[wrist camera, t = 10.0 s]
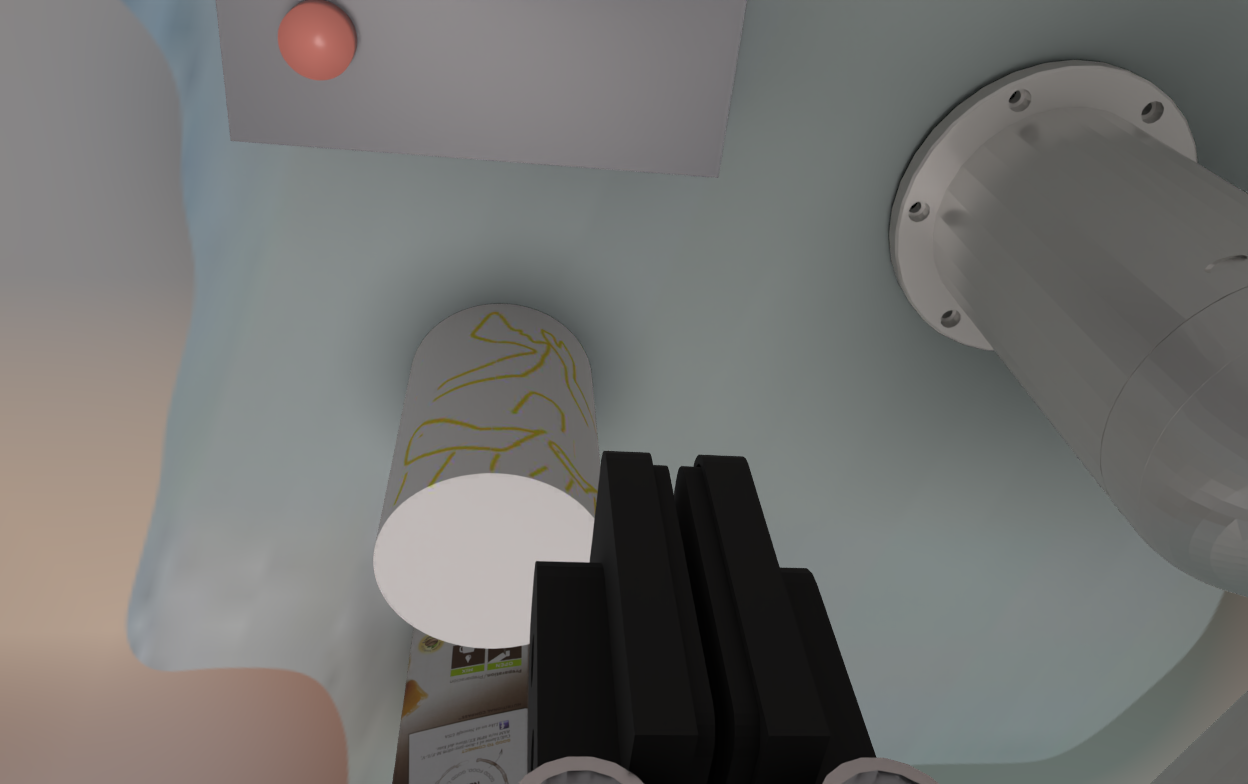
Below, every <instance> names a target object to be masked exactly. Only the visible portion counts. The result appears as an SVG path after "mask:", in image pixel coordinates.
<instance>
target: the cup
mask: <svg viewBox="0 0 1248 784" xmlns="http://www.w3.org/2000/svg"><path fill="white" fill-rule="evenodd" d="M599 475H600V457H599V447H598V436H597V425H596V414H595V404H594V393H593V382H592V372H591V367H590V363H589V360H588V357H587V355H586V353H585V351H584V349H583V347H582V346H581V344H580V342H579V341H578V340H577V338H576V337H575V336H574V335H573V334H572V333H571V332H570V331H569V330H568V329H567V328H566V327H565V326H564V325H562V324H561V323H560V322H558V321H557V320H555V319H554V318H552V317H550V316H548V315H546V314H544V313H542V312H540V311H537V310H535V309H531V308H528V307H524V306H519V305H513V304H486V305H480V306H475V307H471V308H468V309H465V310H462V311H460V312H457V313H455V314H453V315H451V316H449V317H448V318H446V319H444V320H443V321H442V322H440V323H439V324H438V325H436V326H435V327H434V328H433V329H432V330H431V331H430V332H429V333H428V334H427V336H426V337H425V338H424V339H423V341H422V342H421V344H420V346H419V347H418V349H417V351H416V353H415V356H414V359H413V362H412V366H411V371H410V376H409V381H408V386H407V391H406V396H405V401H404V406H403V411H402V416H401V421H400V426H399V430H398V435H397V440H396V445H395V450H394V455H393V460H392V465H391V470H390V475H389V480H388V485H387V490H386V495H385V499H384V504H383V509H382V514H381V519H380V524H379V529H378V534H377V539H376V544H375V549H374V560H373V563H374V572H375V577H376V580H377V584H378V586H379V589H380V591H381V593H382V594H383V596H384V598H385V599H386V601H387V602H388V604H389V605H390V606H391V607H392V609H393V610H394V611H395V612H396V613H397V614H398V615H399V616H400V617H401V618H403V619H404V620H405V621H406V622H408V623H409V624H410V625H412V626H413V627H415V628H416V629H418V630H420V631H421V632H423V633H425V634H427V635H429V636H432V637H434V638H436V639H439V640H442V641H445V642H448V643H452V644H456V645H460V646H466V647H473V648H486V649H497V648H510V647H517V646H522V645H527V644H529V643H530V622H531V606H532V593H533V580H534V569H535V562H536V561H554V562H590V554H591V545H592V536H593V528H594V519H595V510H596V502H597V493H598V484H599Z"/></svg>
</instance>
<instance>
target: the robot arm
mask: <svg viewBox="0 0 1248 784" xmlns="http://www.w3.org/2000/svg"><path fill="white" fill-rule="evenodd" d="M1014 92H1016V95H1015V97H1014V98H1013V99H1011V100H1009V99H1010V97H1011V95H1012V94H1013V93H1014ZM1144 107H1145V108H1144ZM916 202H918V203H917V205H916V207H914V208H912V209H910V208H911V206H912V205H914V204H915V203H916ZM889 243H890V254H891V262H892V265H893V268H894V271H895V274H896V278H897V281H898V284H899V285H900V287H901V289H902V290H903V292H904V294H905V295H906V297H907V299H908V300H909V302H910V303H911V305H912V306H913V307H914V308H915V310H916V311H917V312H918V313H919V315H920V316H921V317H922V319H923V320H924V321H925V322H927V323H928V324H929V325H930V326H931V327H932V328H934V329H935V330H936V331H937V332H939V333H940V334H942V335H944V336H946V337H948V338H950V339H952V340H954V341H956V342H959V343H961V344H963V345H967V346H971V347H975V348H979V349H983V350H989V351H995V352H996V353H997V354H998V356H999V357H1000V358H1001V359H1002V361H1003V362H1004V363H1005V365H1006V366H1007V367H1008V368H1009V370H1010V371H1011V372H1012V374H1013V375H1014V376H1015V377H1016V379H1017V380H1018V381H1019V383H1020V384H1021V385H1022V386H1023V388H1024V389H1025V390H1026V392H1027V393H1028V394H1029V395H1030V397H1031V398H1032V399H1033V401H1034V402H1035V403H1036V404H1037V406H1038V407H1039V408H1040V410H1041V411H1042V412H1043V413H1044V415H1045V416H1046V417H1047V419H1048V420H1049V421H1050V422H1051V424H1052V425H1053V426H1054V428H1055V429H1056V430H1057V431H1058V433H1059V434H1060V435H1061V437H1062V438H1063V439H1064V440H1065V442H1066V443H1067V444H1068V446H1069V447H1070V448H1071V449H1072V451H1073V452H1074V453H1075V454H1076V456H1077V457H1078V458H1079V460H1080V461H1081V462H1082V463H1083V465H1084V466H1085V467H1086V469H1087V470H1088V471H1089V472H1090V474H1091V475H1092V476H1093V478H1094V479H1095V480H1096V481H1097V483H1098V484H1099V485H1100V487H1101V488H1102V489H1103V490H1104V492H1105V493H1106V494H1107V496H1108V497H1109V498H1110V499H1111V501H1112V502H1113V503H1114V505H1115V506H1116V507H1117V508H1118V510H1119V511H1120V512H1121V513H1122V514H1123V516H1124V517H1125V518H1126V520H1127V521H1128V522H1129V523H1130V525H1131V526H1132V527H1133V528H1134V530H1135V531H1136V532H1137V533H1138V534H1139V536H1140V537H1141V538H1142V539H1143V540H1144V541H1145V542H1146V543H1147V544H1148V545H1149V546H1150V547H1151V548H1152V549H1153V550H1154V551H1155V552H1156V553H1158V554H1159V555H1160V556H1161V557H1163V558H1164V559H1165V560H1166V561H1168V562H1169V563H1170V564H1172V565H1173V566H1175V567H1176V568H1178V569H1179V570H1181V571H1183V572H1185V573H1186V574H1188V575H1190V576H1192V577H1194V578H1195V579H1197V580H1199V581H1202V582H1204V583H1206V584H1208V585H1211V586H1214V587H1216V588H1219V589H1222V590H1226V591H1229V592H1232V593H1236V594H1239V595H1242V596H1246V597H1248V194H1247V193H1245V192H1244V191H1242V190H1240V189H1239V188H1237V187H1236V186H1234V185H1232V184H1231V183H1229V182H1227V181H1226V180H1224V179H1222V178H1221V177H1219V176H1217V175H1216V174H1214V173H1213V172H1211V171H1209V170H1208V169H1206V168H1204V167H1203V166H1201V165H1199V164H1198V160H1197V152H1196V144H1195V141H1194V138H1193V136H1192V133H1191V130H1190V128H1189V125H1188V122H1187V120H1186V118H1185V117H1184V116H1183V114H1182V113H1181V111H1180V110H1179V108H1178V107H1177V106H1176V104H1175V103H1174V101H1173V100H1172V99H1171V98H1170V97H1169V96H1167V95H1166V94H1165V93H1164V92H1163V91H1161V90H1160V89H1159V88H1158V87H1157V86H1155V85H1154V84H1153V83H1152V82H1150V81H1148V80H1146V79H1144V78H1142V77H1140V76H1138V75H1137V74H1135V73H1133V72H1131V71H1129V70H1125V69H1122V68H1119V67H1116V66H1113V65H1110V64H1107V63H1104V62H1094V61H1083V60H1068V61H1059V62H1050V63H1043V64H1040V65H1036V66H1033V67H1030V68H1026V69H1023V70H1020V71H1016V72H1013V73H1011V74H1009V75H1007V76H1005V77H1003V78H1001V79H999V80H997V81H995V82H993V83H991V84H989V85H987V86H985V87H983V88H982V89H981V90H979V91H978V92H976V93H975V94H973V95H972V96H971V97H969V98H968V99H966V100H965V101H964V102H962V103H961V104H959V105H958V106H957V107H956V108H955V109H954V110H953V111H952V112H951V113H950V114H949V115H947V116H946V117H945V118H944V119H943V120H942V121H941V122H940V123H939V124H938V125H937V126H936V127H935V128H934V129H933V131H932V132H931V133H930V135H929V136H928V137H927V139H926V140H925V141H924V143H923V144H922V145H921V147H920V148H919V149H918V151H917V152H916V153H915V155H914V157H913V159H912V160H911V162H910V164H909V166H908V168H907V170H906V172H905V174H904V176H903V178H902V180H901V182H900V185H899V188H898V191H897V195H896V198H895V201H894V204H893V207H892V213H891V222H890V230H889ZM518 784H939V783H937V782H936V781H935V780H934V779H933V778H932V777H930V776H929V775H927V774H925V773H923V772H921V771H919V770H918V769H915V768H914V767H912V766H910V765H908V764H905V763H901V762H898V761H894V760H890V759H887V758H876V755H875V752H874V749H873V746H872V743H871V740H870V737H869V735H868V732H867V729H866V726H865V723H864V720H863V717H862V714H861V711H860V708H859V705H858V702H857V700H856V697H855V694H854V691H853V688H852V685H851V682H850V679H849V676H848V673H847V670H846V667H845V665H844V662H843V659H842V656H841V653H840V650H839V647H838V644H837V641H836V638H835V635H834V632H833V630H832V627H831V624H830V621H829V618H828V615H827V612H826V609H825V606H824V603H823V600H822V597H821V595H820V592H819V589H818V586H817V583H816V581H815V579H814V577H813V574H812V573H811V572H810V571H809V570H808V569H807V568H780V567H779V564H778V561H777V557H776V554H775V551H774V548H773V544H772V541H771V538H770V534H769V531H768V528H767V524H766V521H765V518H764V515H763V511H762V508H761V505H760V501H759V498H758V495H757V492H756V488H755V485H754V482H753V478H752V475H751V472H750V469H749V465H748V462H747V460H746V458H744V457H740V456H716V455H698V456H697V458H696V460H695V463H694V467H687V466H681V467H680V468H679V470H678V474H677V479H676V485H675V491H674V495H673V489H672V484H671V479H670V473H669V469H668V467H667V466H662V465H653V462H652V458H651V454H650V453H643V452H618V451H604V452H603V455H602V460H601V467H600V475H599V484H598V493H597V502H596V510H595V519H594V528H593V536H592V545H591V554H590V562H554V561H536V562H535V569H534V580H533V593H532V606H531V622H530V643H529V680H528V774H527V775H525V776H524V777H523V779H522V780H521V781H520V782H519V783H518ZM1151 784H1248V691H1247V692H1246V693H1245V694H1244V695H1242V696H1241V697H1240V698H1239V699H1238V700H1237V701H1236V702H1235V703H1234V704H1233V705H1232V706H1231V707H1230V708H1229V709H1228V710H1227V711H1226V712H1225V713H1224V714H1222V715H1221V716H1220V717H1219V718H1218V719H1217V720H1216V721H1215V722H1214V723H1213V724H1212V725H1211V726H1210V727H1209V728H1208V729H1207V730H1206V731H1205V732H1204V733H1203V734H1201V736H1199V737H1198V738H1197V739H1196V740H1195V741H1194V742H1193V743H1192V744H1191V745H1190V746H1189V747H1188V748H1187V749H1186V750H1185V751H1184V752H1183V753H1182V754H1180V755H1179V757H1177V758H1176V759H1175V760H1174V761H1173V762H1172V763H1171V764H1170V765H1169V766H1168V767H1167V768H1166V769H1165V770H1164V771H1163V772H1162V773H1161V774H1160V775H1159V776H1158V777H1157V778H1156V779H1155V780H1154V781H1153V782H1152V783H1151Z"/></svg>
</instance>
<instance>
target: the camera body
mask: <svg viewBox="0 0 1248 784" xmlns="http://www.w3.org/2000/svg"><path fill="white" fill-rule="evenodd" d="M746 5H747V0H216V8H217V17H218V26H219V36H220V45H221V54H222V64H223V73H224V82H225V91H226V101H227V110H228V119H229V129H230V138H231V141H239V142H252V143H266V144H279V145H292V146H305V147H319V148H332V149H345V150H358V151H371V152H385V153H398V154H411V155H424V156H438V157H451V158H464V159H477V160H491V161H504V162H517V163H530V164H543V165H557V166H570V167H583V168H596V169H610V170H623V171H636V172H649V173H663V174H676V175H689V176H702V177H715V178H718V177H719V171H720V165H721V158H722V152H723V146H724V140H725V134H726V128H727V121H728V115H729V109H730V103H731V97H732V91H733V85H734V78H735V72H736V66H737V60H738V54H739V48H740V41H741V35H742V29H743V23H744V17H745V11H746Z"/></svg>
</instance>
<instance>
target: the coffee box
mask: <svg viewBox="0 0 1248 784" xmlns="http://www.w3.org/2000/svg"><path fill="white" fill-rule="evenodd" d="M528 680H529V644H527V645H522V646H517V647H510V648H497V649H486V648H473V647H466V646H460V645H456V644H452V643H448V642H445V641H442V640H439V639H436V638H434V637H432V636H429V635H427V634H425V633H423V632H421V631H420V630H418V629H416V628H415V627H414V630H413V637H412V643H411V650H410V657H409V666H408V672H407V680H406V689H405V696H404V703H403V710H402V716H401V723H400V731H399V738H398V745H397V753H396V761H395V768H394V774H393V782H392V784H518V783H519V782H520V781H521V780H522V779H523V777H524V776H525V775H527V774H528Z"/></svg>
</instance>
